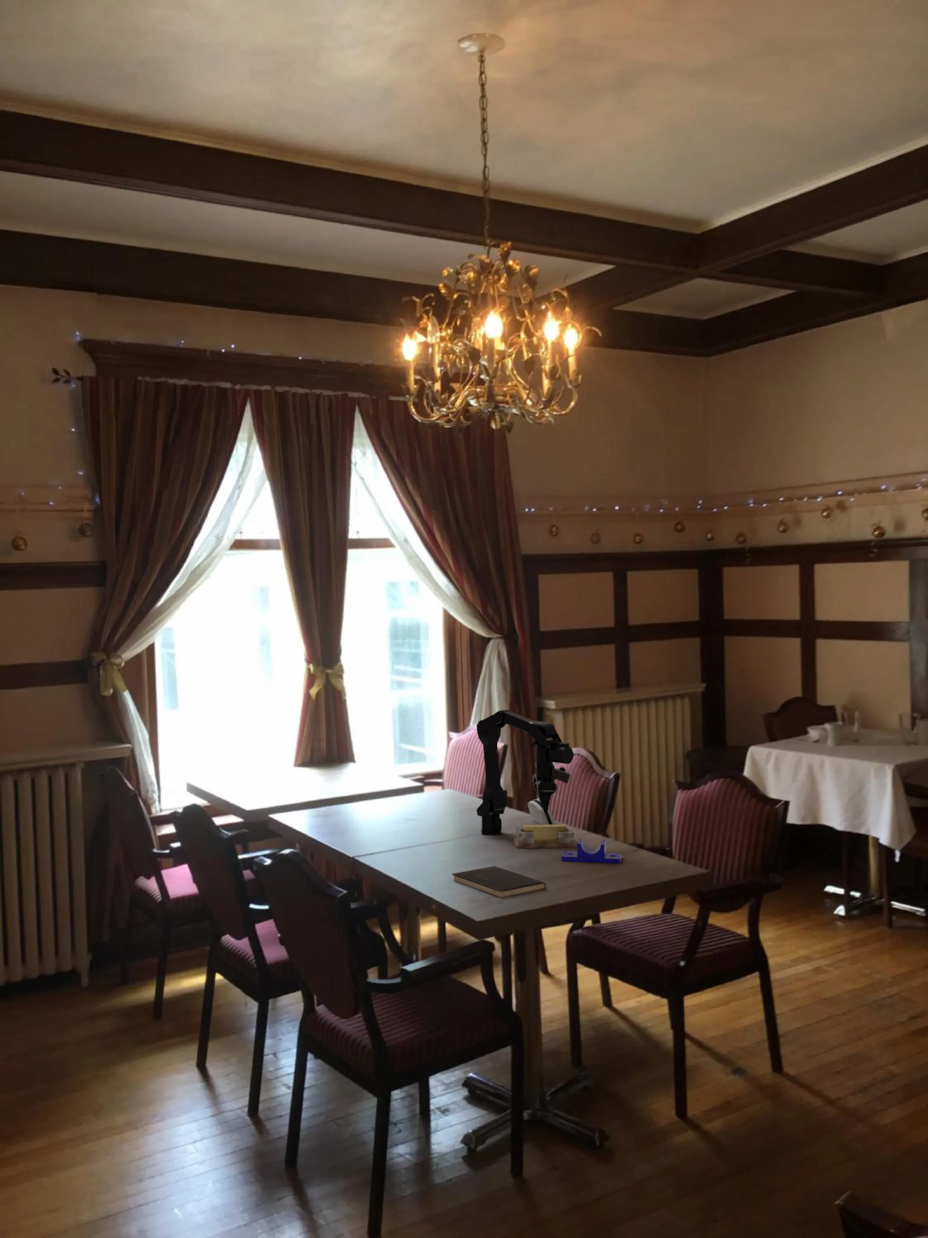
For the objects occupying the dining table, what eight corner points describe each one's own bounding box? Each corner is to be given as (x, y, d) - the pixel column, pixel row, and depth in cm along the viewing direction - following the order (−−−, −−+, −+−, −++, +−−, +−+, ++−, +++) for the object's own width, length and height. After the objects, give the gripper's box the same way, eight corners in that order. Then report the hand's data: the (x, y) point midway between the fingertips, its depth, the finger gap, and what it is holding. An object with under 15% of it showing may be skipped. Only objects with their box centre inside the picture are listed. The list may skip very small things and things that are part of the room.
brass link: (524, 842, 359) (524, 827, 359) (523, 839, 362) (523, 825, 362) (566, 841, 359) (566, 826, 359) (565, 839, 363) (565, 824, 363)
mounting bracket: (621, 859, 340) (621, 840, 340) (620, 865, 333) (620, 845, 333) (564, 856, 344) (564, 838, 344) (561, 862, 337) (561, 843, 337)
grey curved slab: (560, 827, 386) (551, 802, 385) (548, 833, 385) (539, 807, 384) (544, 818, 402) (536, 793, 401) (533, 823, 401) (524, 798, 400)
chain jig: (516, 848, 355) (516, 834, 355) (513, 840, 366) (513, 827, 366) (577, 847, 356) (577, 833, 355) (572, 839, 366) (572, 826, 366)
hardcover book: (500, 899, 296) (500, 891, 296) (452, 881, 315) (452, 873, 315) (545, 890, 305) (545, 881, 305) (496, 873, 324) (496, 865, 324)
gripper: (572, 765, 351) (572, 813, 352) (564, 756, 370) (565, 802, 370) (537, 765, 351) (538, 813, 351) (532, 757, 370) (532, 802, 370)
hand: (544, 808), depth 361 cm, fingers open, 9 cm apart
